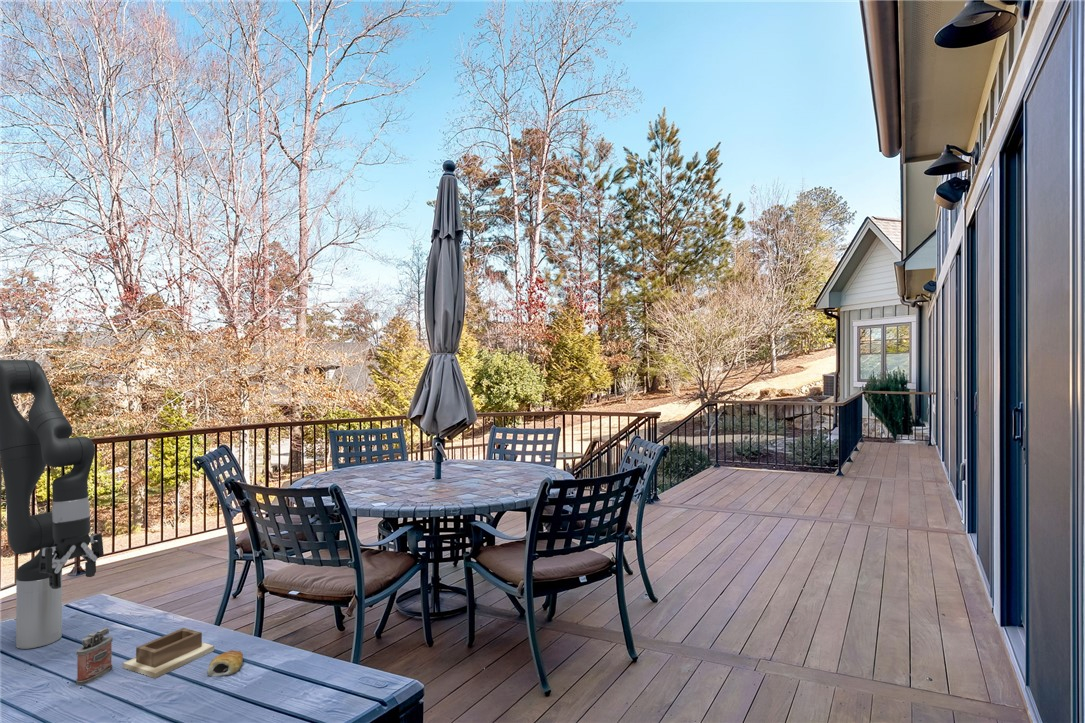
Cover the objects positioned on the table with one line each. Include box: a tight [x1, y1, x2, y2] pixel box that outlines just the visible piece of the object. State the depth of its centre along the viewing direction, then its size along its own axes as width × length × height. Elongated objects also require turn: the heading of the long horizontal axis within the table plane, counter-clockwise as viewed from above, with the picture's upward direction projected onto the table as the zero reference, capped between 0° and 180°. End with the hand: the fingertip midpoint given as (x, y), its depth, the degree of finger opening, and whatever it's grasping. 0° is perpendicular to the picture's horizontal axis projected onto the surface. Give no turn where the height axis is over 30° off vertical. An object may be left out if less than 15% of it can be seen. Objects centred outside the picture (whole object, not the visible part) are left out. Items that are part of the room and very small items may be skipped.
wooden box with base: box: [122, 627, 215, 679], centre depth 148 cm, size 12×15×5 cm
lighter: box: [75, 627, 114, 686], centre depth 140 cm, size 8×3×10 cm, turn 168°
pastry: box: [206, 650, 244, 678], centre depth 144 cm, size 9×7×4 cm
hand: (73, 582), depth 151 cm, fingers open, 8 cm apart
